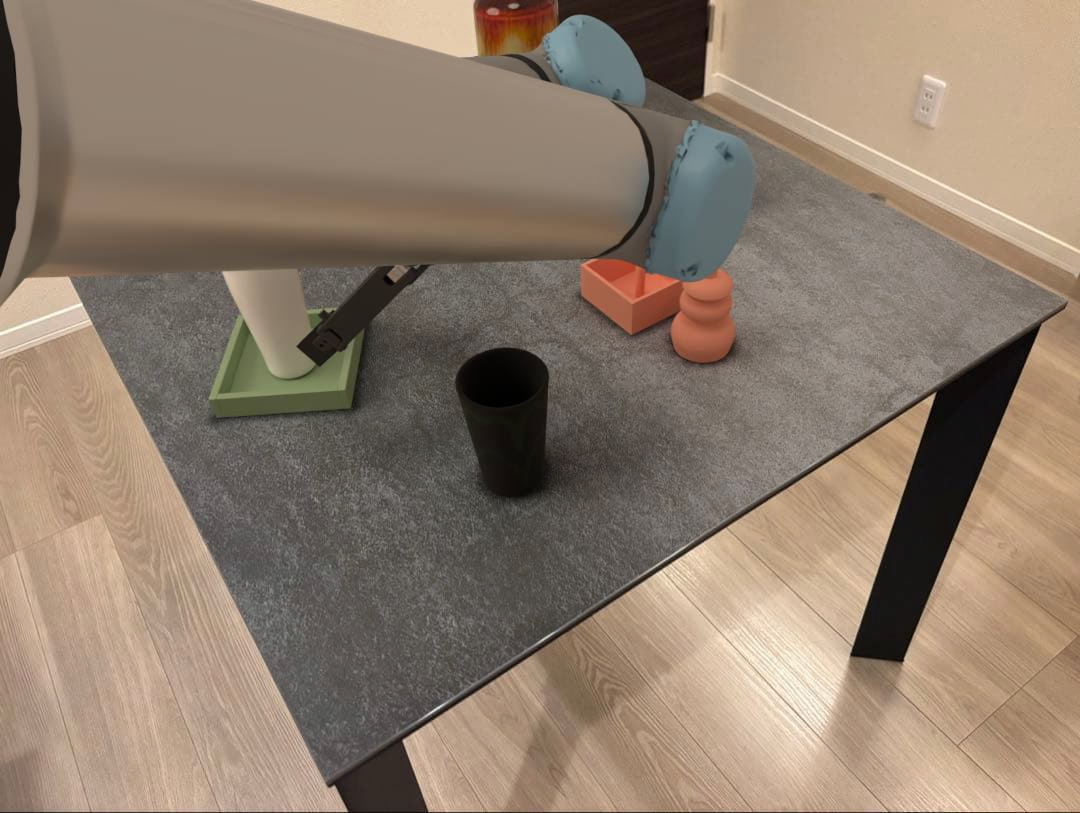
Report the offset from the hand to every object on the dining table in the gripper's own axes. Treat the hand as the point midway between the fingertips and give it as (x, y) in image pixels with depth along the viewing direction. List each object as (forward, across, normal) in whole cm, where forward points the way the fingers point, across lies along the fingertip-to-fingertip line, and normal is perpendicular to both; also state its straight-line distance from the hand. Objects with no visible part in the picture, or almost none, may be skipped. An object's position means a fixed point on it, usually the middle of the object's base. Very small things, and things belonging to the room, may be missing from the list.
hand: (349, 309), depth 78 cm
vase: (+10, +53, -4) cm, 54 cm away
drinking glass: (+14, 0, 0) cm, 14 cm away
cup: (-6, -6, -20) cm, 22 cm away
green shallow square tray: (+14, 0, -1) cm, 14 cm away
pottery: (-11, +20, -25) cm, 34 cm away
